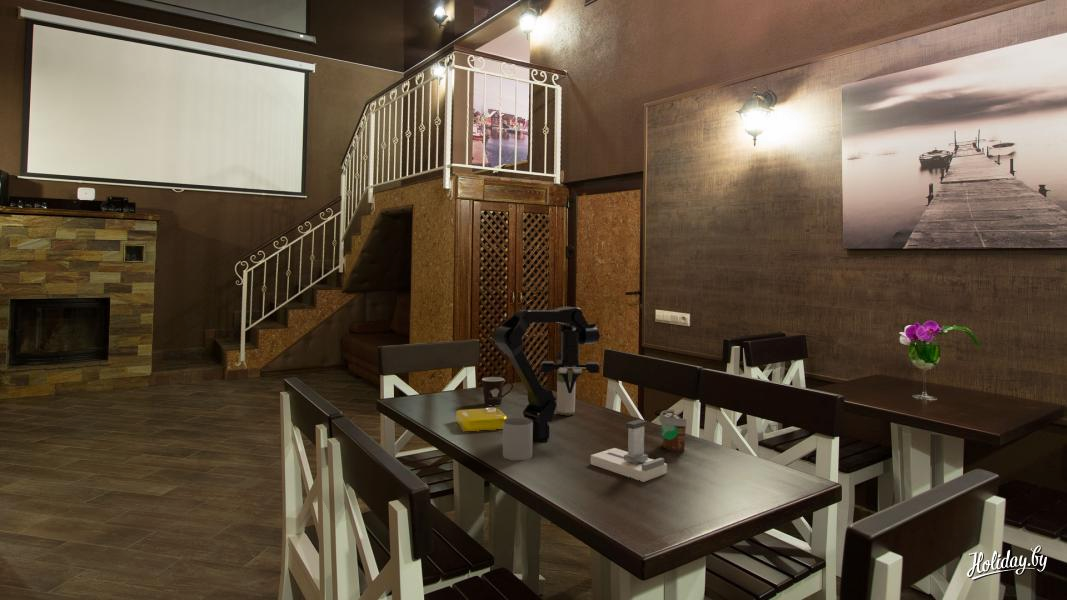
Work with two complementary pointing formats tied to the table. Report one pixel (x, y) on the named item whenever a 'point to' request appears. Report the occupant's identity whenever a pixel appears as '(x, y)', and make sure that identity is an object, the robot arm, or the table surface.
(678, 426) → the food container
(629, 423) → the fader
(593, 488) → the table surface
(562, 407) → the bottle
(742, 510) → the table surface
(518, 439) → the cup
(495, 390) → the coffee mug
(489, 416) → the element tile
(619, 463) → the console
